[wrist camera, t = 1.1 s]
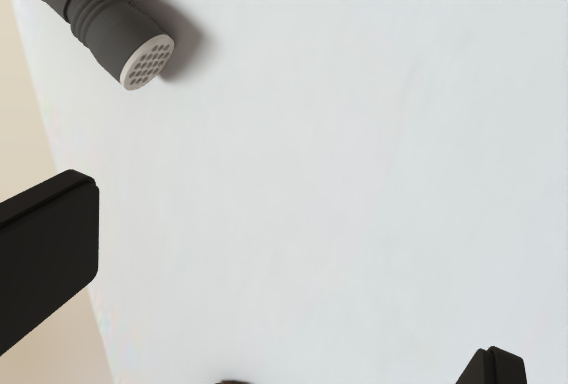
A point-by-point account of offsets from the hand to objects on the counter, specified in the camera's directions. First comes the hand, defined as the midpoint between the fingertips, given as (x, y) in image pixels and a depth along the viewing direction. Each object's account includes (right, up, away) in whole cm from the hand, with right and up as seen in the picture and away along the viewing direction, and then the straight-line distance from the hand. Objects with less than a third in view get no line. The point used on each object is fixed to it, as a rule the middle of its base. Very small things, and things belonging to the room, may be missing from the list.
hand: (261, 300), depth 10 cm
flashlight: (-14, +19, +28) cm, 37 cm away
